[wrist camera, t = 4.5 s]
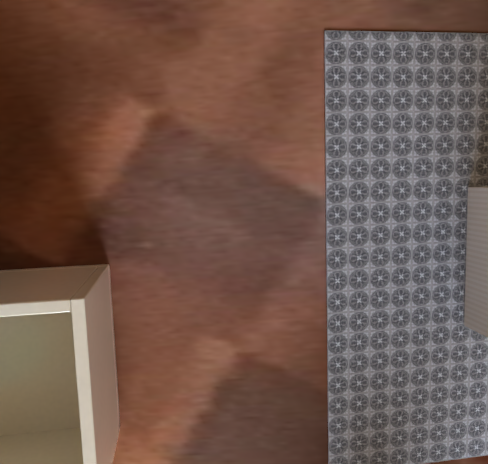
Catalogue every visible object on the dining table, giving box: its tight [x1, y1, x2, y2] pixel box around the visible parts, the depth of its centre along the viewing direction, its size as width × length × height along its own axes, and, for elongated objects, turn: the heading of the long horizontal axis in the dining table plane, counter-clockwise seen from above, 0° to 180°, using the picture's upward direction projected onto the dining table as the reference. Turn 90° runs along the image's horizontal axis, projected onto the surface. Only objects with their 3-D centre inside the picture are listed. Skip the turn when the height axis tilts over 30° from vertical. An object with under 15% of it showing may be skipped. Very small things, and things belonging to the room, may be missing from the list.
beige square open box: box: [0, 264, 120, 464], centre depth 28 cm, size 12×12×10 cm
